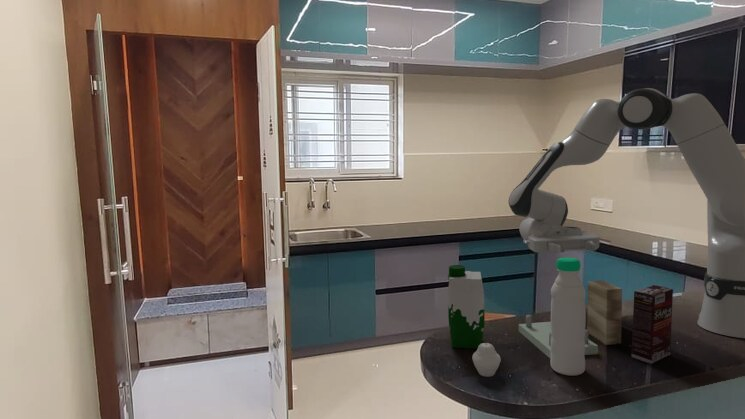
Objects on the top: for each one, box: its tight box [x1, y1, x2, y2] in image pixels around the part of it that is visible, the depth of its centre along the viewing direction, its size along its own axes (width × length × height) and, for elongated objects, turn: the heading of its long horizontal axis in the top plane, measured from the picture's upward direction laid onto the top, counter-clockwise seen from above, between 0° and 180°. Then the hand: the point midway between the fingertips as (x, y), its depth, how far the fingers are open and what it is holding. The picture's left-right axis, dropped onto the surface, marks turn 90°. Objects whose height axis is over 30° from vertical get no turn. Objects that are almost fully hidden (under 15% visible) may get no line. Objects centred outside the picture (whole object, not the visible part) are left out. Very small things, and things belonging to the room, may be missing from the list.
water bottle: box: [549, 257, 587, 377], centre depth 99 cm, size 7×7×25 cm
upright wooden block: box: [586, 279, 623, 346], centre depth 116 cm, size 4×8×14 cm, turn 6°
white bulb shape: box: [471, 342, 502, 378], centre depth 100 cm, size 6×6×7 cm
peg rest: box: [518, 314, 599, 359], centre depth 115 cm, size 12×17×5 cm
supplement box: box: [631, 284, 674, 365], centre depth 104 cm, size 9×5×16 cm, turn 122°
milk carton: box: [447, 264, 486, 350], centre depth 116 cm, size 9×9×20 cm
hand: (578, 248), depth 126 cm, fingers open, 8 cm apart
